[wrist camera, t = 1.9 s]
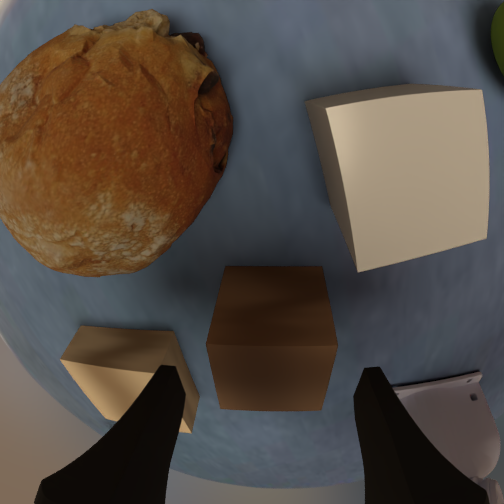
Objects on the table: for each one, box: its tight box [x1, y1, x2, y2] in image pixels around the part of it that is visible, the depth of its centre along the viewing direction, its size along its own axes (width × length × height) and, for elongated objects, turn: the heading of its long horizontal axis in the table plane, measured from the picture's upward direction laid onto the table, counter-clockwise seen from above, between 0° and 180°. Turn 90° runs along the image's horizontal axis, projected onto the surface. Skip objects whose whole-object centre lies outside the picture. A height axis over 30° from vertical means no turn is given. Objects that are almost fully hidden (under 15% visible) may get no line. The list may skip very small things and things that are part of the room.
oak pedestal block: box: [60, 326, 200, 433], centre depth 18 cm, size 7×7×4 cm
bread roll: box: [0, 9, 233, 277], centre depth 10 cm, size 10×10×8 cm
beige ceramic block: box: [304, 84, 489, 272], centre depth 9 cm, size 4×4×5 cm
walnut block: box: [206, 266, 338, 411], centre depth 13 cm, size 4×4×5 cm
